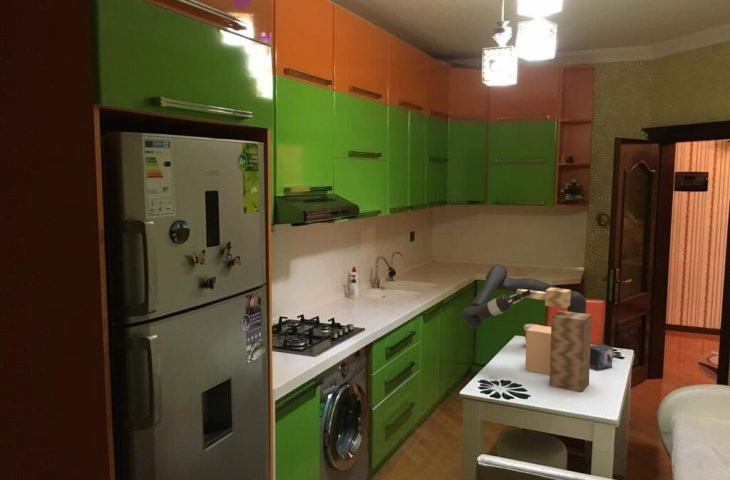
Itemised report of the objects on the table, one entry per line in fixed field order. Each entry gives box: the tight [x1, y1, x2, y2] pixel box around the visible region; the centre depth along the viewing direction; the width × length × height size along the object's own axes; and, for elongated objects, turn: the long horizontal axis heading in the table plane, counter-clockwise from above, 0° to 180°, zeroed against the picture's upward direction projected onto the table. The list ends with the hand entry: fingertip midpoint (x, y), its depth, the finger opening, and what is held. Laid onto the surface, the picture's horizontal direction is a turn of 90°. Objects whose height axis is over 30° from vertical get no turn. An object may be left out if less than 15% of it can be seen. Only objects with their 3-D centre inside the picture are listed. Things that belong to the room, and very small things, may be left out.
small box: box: [590, 343, 614, 372], centre depth 280 cm, size 11×6×10 cm, turn 117°
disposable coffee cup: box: [523, 323, 538, 341], centre depth 314 cm, size 10×10×12 cm
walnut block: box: [549, 310, 593, 393], centre depth 256 cm, size 14×12×32 cm
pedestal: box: [524, 324, 551, 376], centre depth 277 cm, size 14×12×20 cm
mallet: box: [516, 287, 572, 309], centre depth 260 cm, size 23×7×7 cm, turn 55°
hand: (531, 291), depth 263 cm, fingers closed on mallet, 3 cm apart
